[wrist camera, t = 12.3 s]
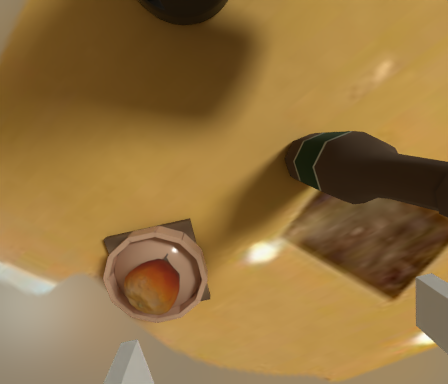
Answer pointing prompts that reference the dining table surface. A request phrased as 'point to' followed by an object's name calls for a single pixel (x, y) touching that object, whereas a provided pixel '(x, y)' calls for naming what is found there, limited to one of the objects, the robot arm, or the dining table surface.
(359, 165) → the beer bottle
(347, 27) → the dining table surface
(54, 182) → the dining table surface
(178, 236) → the bowl
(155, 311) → the fruit
